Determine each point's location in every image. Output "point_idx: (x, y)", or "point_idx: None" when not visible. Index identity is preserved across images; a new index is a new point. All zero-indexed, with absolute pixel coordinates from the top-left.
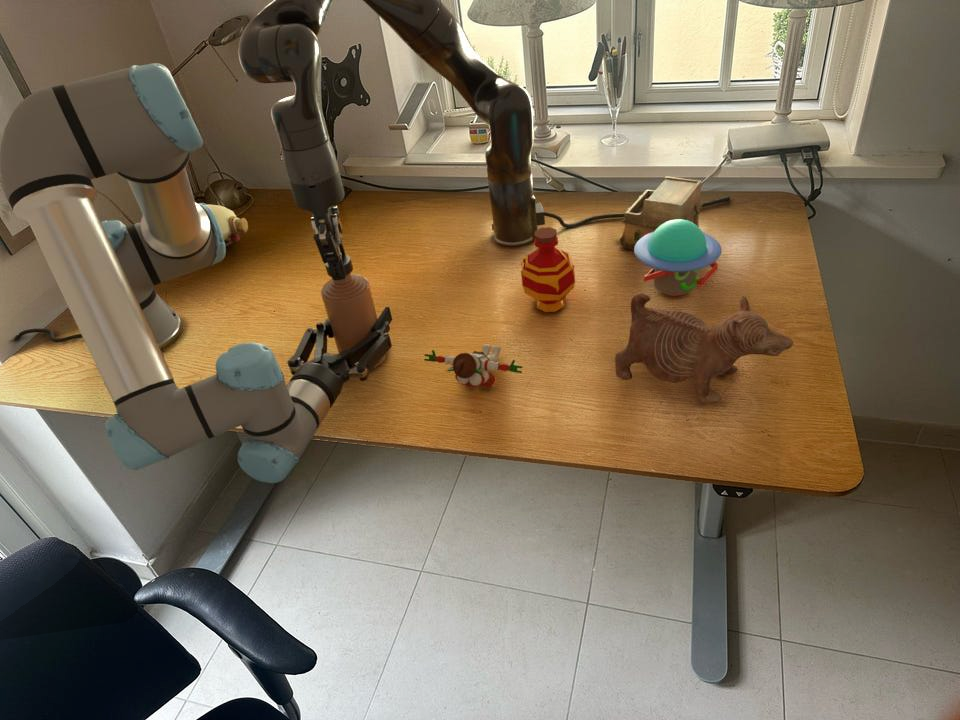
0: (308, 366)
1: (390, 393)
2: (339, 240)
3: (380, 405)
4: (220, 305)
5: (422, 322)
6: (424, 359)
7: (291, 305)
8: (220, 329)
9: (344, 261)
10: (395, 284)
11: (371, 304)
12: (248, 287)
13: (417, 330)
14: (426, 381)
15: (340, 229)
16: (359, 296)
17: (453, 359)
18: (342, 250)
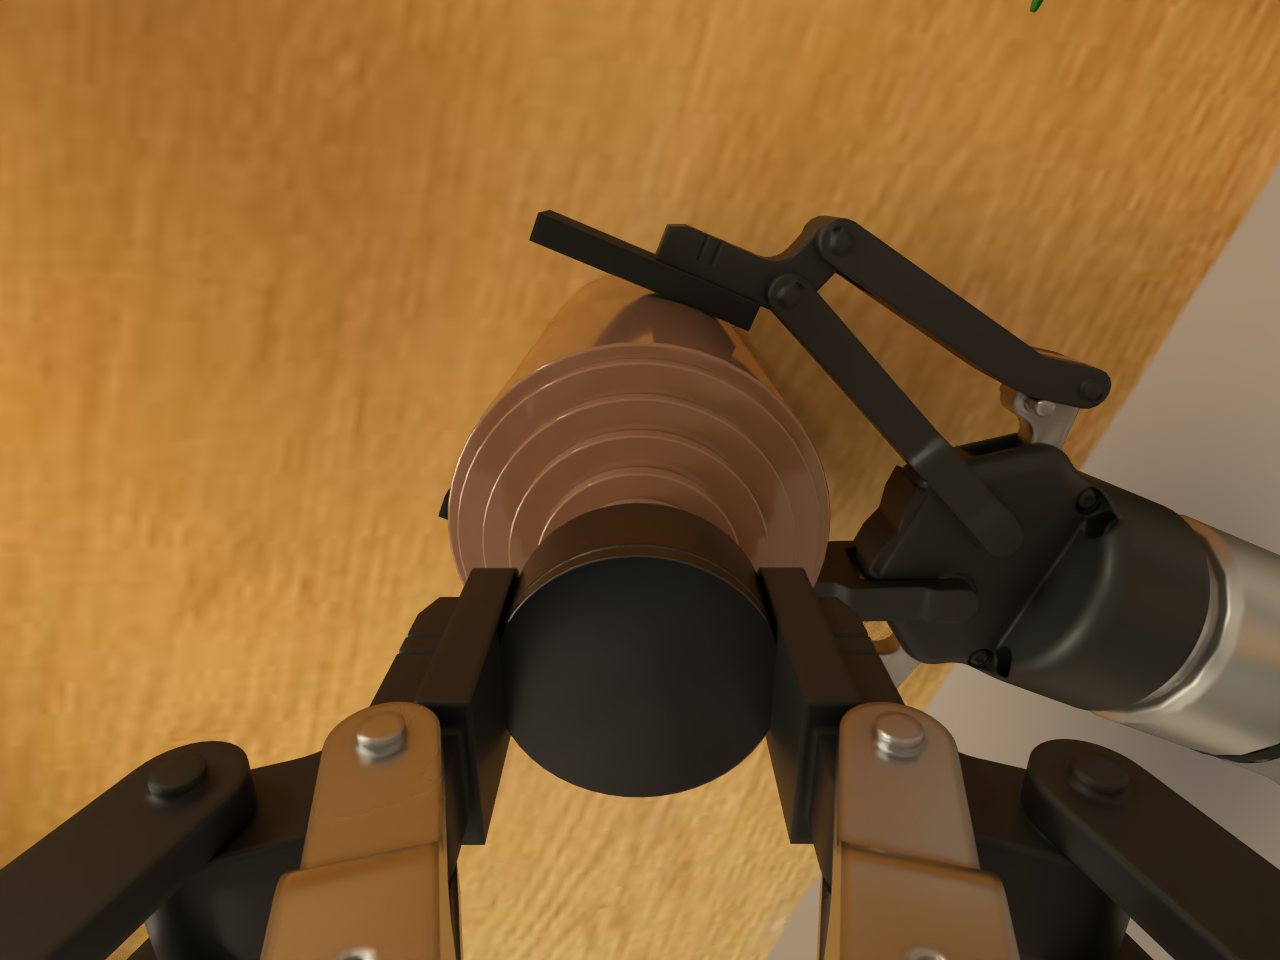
0: (1115, 654)
1: (933, 251)
2: (1005, 920)
3: (995, 296)
4: None
5: (402, 59)
6: (1037, 7)
7: (182, 690)
8: None
9: (671, 617)
10: (3, 211)
11: (691, 325)
12: None
13: (472, 94)
14: (913, 64)
15: (440, 899)
16: (794, 417)
17: None
18: (485, 664)
